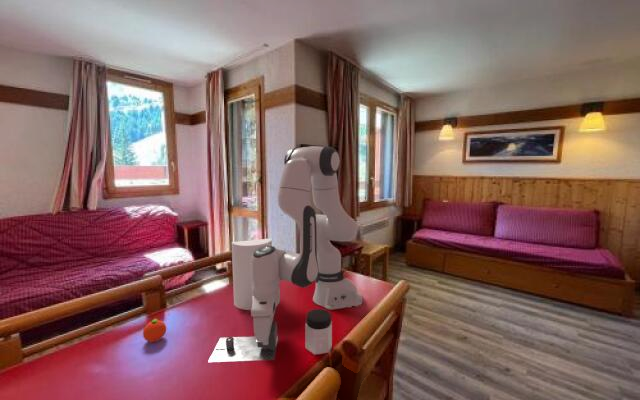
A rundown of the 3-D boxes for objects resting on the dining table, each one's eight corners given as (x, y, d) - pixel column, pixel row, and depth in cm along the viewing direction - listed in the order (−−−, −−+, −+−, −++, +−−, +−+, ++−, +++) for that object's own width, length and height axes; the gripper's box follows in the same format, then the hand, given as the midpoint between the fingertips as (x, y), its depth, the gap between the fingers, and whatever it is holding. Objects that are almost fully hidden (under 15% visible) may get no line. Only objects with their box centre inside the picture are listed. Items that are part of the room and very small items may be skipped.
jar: (307, 359, 85) (307, 323, 84) (303, 343, 93) (303, 310, 92) (335, 355, 87) (335, 320, 86) (328, 339, 95) (328, 307, 94)
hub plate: (278, 338, 96) (278, 327, 95) (274, 363, 84) (273, 350, 83) (220, 340, 95) (219, 328, 94) (208, 365, 83) (207, 352, 82)
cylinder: (276, 305, 119) (275, 243, 116) (235, 313, 113) (233, 247, 109) (269, 289, 135) (267, 234, 132) (232, 295, 128) (230, 237, 125)
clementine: (146, 335, 98) (144, 316, 97) (168, 330, 100) (167, 312, 100) (141, 348, 90) (140, 328, 90) (165, 343, 93) (164, 324, 92)
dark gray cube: (260, 336, 92) (260, 321, 92) (277, 335, 93) (276, 320, 92) (257, 347, 87) (256, 331, 86) (275, 346, 87) (274, 330, 86)
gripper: (261, 283, 98) (263, 318, 100) (249, 314, 78) (251, 358, 79) (279, 282, 98) (280, 318, 100) (271, 313, 78) (273, 357, 80)
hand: (267, 336), depth 90 cm, fingers closed on dark gray cube, 6 cm apart
